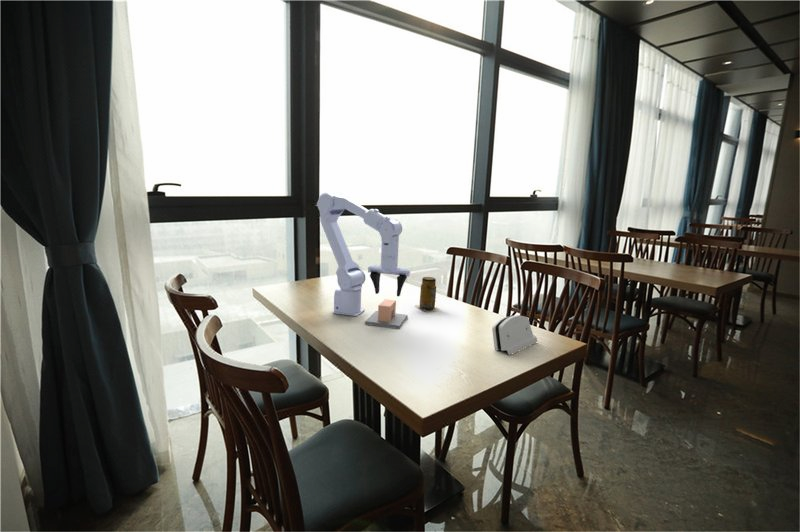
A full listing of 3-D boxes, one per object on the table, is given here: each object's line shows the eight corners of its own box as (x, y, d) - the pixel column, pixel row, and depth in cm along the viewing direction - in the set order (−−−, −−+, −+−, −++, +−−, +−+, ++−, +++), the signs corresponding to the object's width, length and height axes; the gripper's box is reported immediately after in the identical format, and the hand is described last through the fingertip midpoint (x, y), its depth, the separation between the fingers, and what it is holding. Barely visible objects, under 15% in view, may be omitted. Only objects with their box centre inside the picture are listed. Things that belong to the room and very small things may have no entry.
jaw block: (377, 320, 130) (378, 305, 128) (384, 313, 137) (385, 299, 136) (389, 322, 129) (389, 306, 128) (395, 315, 136) (396, 300, 135)
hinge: (509, 355, 109) (502, 321, 109) (495, 355, 112) (488, 322, 113) (538, 342, 120) (531, 311, 121) (524, 342, 123) (518, 312, 124)
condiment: (430, 304, 155) (432, 275, 153) (441, 310, 148) (443, 280, 145) (414, 306, 152) (416, 276, 149) (425, 312, 144) (427, 281, 142)
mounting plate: (364, 324, 129) (365, 321, 129) (375, 313, 140) (375, 310, 140) (399, 328, 126) (399, 325, 126) (407, 317, 137) (407, 314, 137)
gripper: (365, 255, 127) (364, 294, 130) (407, 259, 124) (405, 299, 126) (372, 252, 134) (370, 289, 136) (412, 256, 130) (410, 294, 133)
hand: (387, 294), depth 132 cm, fingers open, 7 cm apart
